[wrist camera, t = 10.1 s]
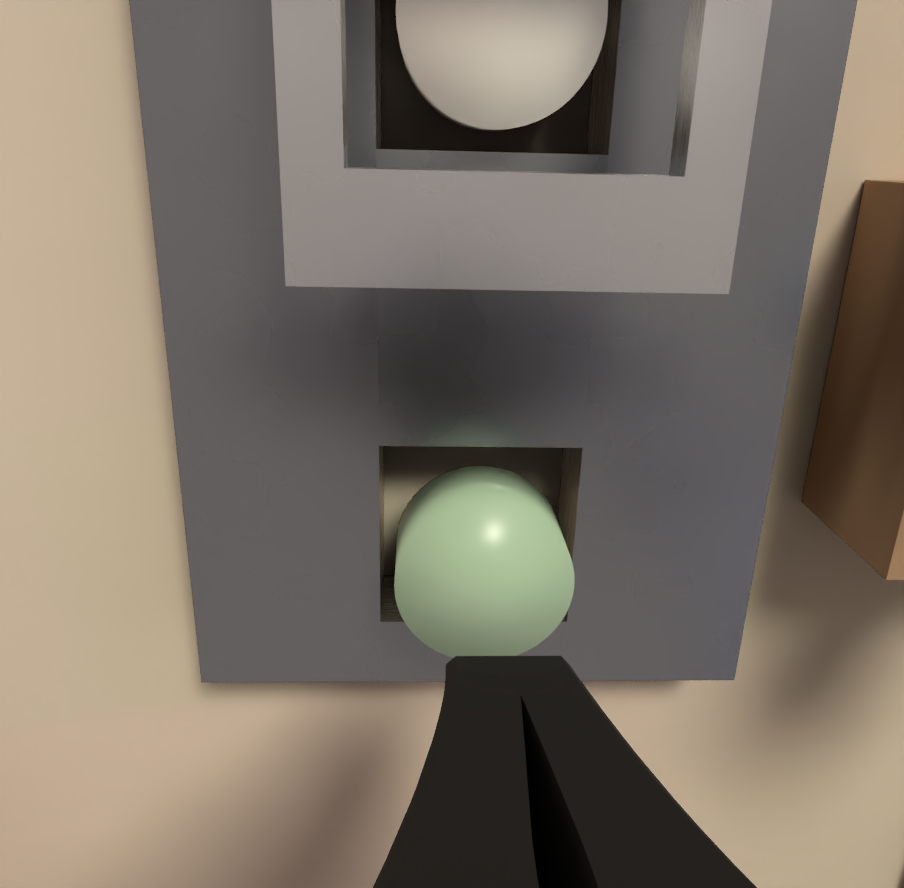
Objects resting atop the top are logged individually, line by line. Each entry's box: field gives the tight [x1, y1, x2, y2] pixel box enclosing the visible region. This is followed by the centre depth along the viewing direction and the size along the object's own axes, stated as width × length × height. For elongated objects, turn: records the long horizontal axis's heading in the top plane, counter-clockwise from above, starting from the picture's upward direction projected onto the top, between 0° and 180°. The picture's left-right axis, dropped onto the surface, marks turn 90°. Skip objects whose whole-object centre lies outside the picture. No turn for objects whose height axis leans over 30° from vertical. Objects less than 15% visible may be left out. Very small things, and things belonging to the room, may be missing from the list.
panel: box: [129, 0, 857, 682], centre depth 12 cm, size 14×10×5 cm
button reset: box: [396, 0, 608, 131], centre depth 11 cm, size 3×3×2 cm
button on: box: [394, 466, 575, 658], centre depth 13 cm, size 3×3×2 cm
